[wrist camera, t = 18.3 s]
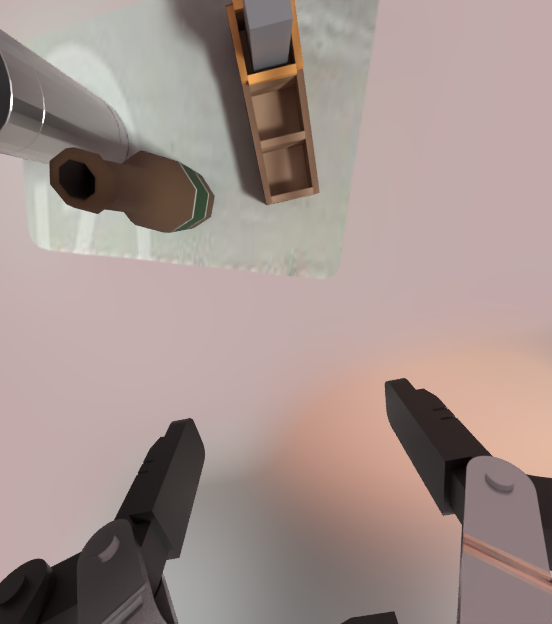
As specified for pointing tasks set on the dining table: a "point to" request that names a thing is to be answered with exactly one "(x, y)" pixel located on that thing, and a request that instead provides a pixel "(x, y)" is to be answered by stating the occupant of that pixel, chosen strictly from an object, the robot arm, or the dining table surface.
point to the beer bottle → (133, 188)
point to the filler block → (268, 32)
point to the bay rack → (277, 116)
